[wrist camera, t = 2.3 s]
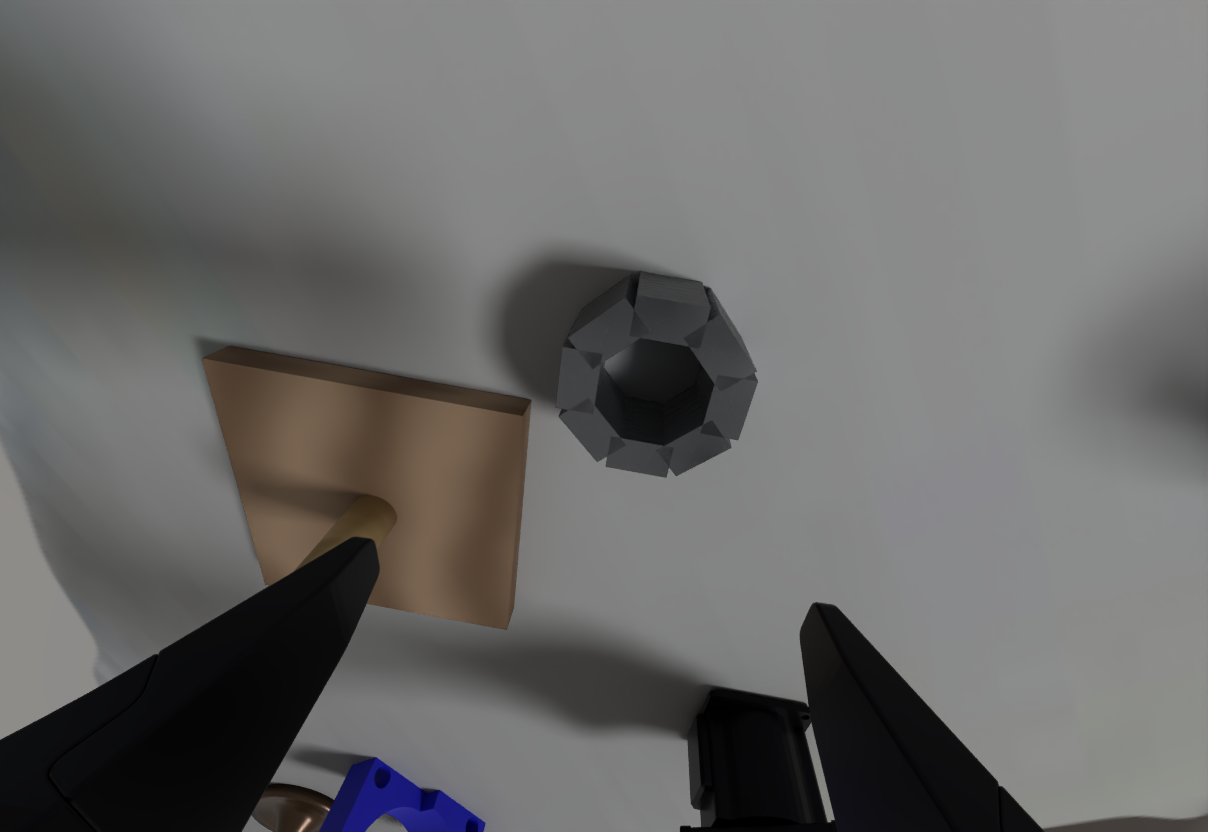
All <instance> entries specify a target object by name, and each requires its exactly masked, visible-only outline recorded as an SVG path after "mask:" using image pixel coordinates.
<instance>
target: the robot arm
mask: <svg viewBox="0 0 1208 832" xmlns="http://www.w3.org/2000/svg"><path fill="white" fill-rule="evenodd" d="M379 572H380V564H379V559H378V553H377V548H376V543H375V541H374V540H373V539H371V538H365V537H358V536H354V537H351V538H349V539H347V540H346V541H344V542H342V543H341V544H339V545H337V546H336V547H334V548H332V549H331V550H329V551H327V552H326V553H324V554H322V555H320V556H319V557H317V558H315V559H314V560H312V561H310V562H309V563H307V564H305V565H304V566H302V567H300V568H299V569H297V570H295V571H294V572H292V573H290V574H289V575H287V576H285V577H284V578H282V579H280V580H279V581H277V582H275V583H273V584H272V585H270V586H268V587H267V588H265V589H263V590H262V591H260V592H258V593H257V594H255V595H253V596H252V597H250V598H248V599H247V600H245V601H243V602H242V603H240V604H238V605H237V606H235V607H233V608H232V609H230V610H228V611H227V612H225V613H223V614H221V615H220V616H218V617H216V618H215V619H213V620H211V621H210V622H208V623H206V624H205V625H203V626H201V627H200V628H198V629H196V630H195V631H193V632H191V633H190V634H188V635H186V636H185V637H183V638H181V639H180V640H178V641H176V642H174V643H173V644H171V645H169V646H168V647H166V648H164V649H163V650H161V651H160V652H159V654H154V655H152V656H151V657H149V658H147V659H146V660H144V661H142V662H141V663H139V664H137V665H136V666H134V667H132V668H131V669H129V670H127V671H125V672H124V673H122V674H120V675H118V676H117V677H115V678H113V679H112V680H110V681H108V682H106V683H105V684H103V685H101V686H99V687H98V688H96V689H94V690H93V691H91V692H89V693H87V694H85V695H84V696H82V697H80V698H78V699H77V700H74V701H73V702H71V703H69V704H67V705H65V706H63V707H61V708H59V709H58V710H56V711H54V712H52V713H50V714H49V715H47V716H45V717H43V718H41V719H39V720H37V721H35V722H33V723H31V724H30V725H28V726H26V727H24V728H22V729H20V730H18V731H16V732H14V733H12V734H10V735H9V736H7V737H5V738H3V739H1V740H0V832H242V830H243V828H244V827H245V825H246V823H247V821H248V820H249V818H250V816H251V814H252V813H253V811H254V809H255V808H256V806H257V804H258V802H259V801H260V799H261V797H262V795H263V794H264V792H265V790H266V788H267V787H268V785H269V783H270V781H271V780H272V778H273V776H274V774H275V773H276V771H277V769H278V767H279V766H280V764H281V762H282V760H283V759H284V757H285V755H286V753H287V752H288V750H289V748H290V746H291V745H292V743H293V741H294V739H295V738H296V736H297V734H298V732H299V731H300V729H301V727H302V725H303V724H304V722H305V720H306V718H307V717H308V715H309V713H310V711H311V710H312V708H313V706H314V704H315V703H316V701H317V699H318V698H319V696H320V694H321V692H322V691H323V689H324V687H325V685H326V684H327V682H328V680H329V678H330V677H331V675H332V673H333V671H334V670H335V668H336V666H337V664H338V663H339V661H340V659H341V657H342V655H343V654H344V652H345V650H346V648H347V646H348V644H349V642H350V640H351V637H352V635H353V633H354V631H355V629H356V626H357V624H358V622H359V620H360V617H361V615H362V613H363V611H364V608H365V606H366V604H367V602H368V599H369V597H370V595H371V593H372V590H373V588H374V586H375V584H376V581H377V579H378V576H379ZM800 645H801V652H802V660H803V667H804V675H805V682H806V689H807V697H808V704H809V707H807V706H802V705H796V704H791V703H786V702H780V701H775V700H770V699H764V698H759V697H754V696H748V695H743V694H738V693H732V692H727V691H722V690H712V691H710V692H709V694H708V696H707V699H706V701H705V703H704V706H703V708H702V710H701V713H699V714H698V715H697V716H696V717H695V719H694V722H693V724H692V726H691V729H690V731H689V733H688V757H689V778H690V798H691V805H692V806H693V808H694V809H698V810H700V815H701V827H693V828H691V827H690V826H680V832H1045V831H1044V830H1043V829H1042V828H1041V827H1040V826H1039V825H1038V824H1037V823H1036V822H1035V821H1034V820H1033V819H1032V818H1031V817H1030V815H1029V814H1028V813H1027V812H1026V811H1025V810H1024V809H1023V808H1022V807H1021V806H1020V805H1019V804H1018V803H1017V801H1016V800H1015V799H1014V798H1013V797H1012V796H1011V795H1010V794H1009V793H1008V792H1007V791H1006V790H1005V788H1004V787H1002V786H999V784H998V781H997V780H996V779H995V778H994V777H993V776H992V775H991V773H990V772H989V771H988V770H987V769H986V768H985V767H984V766H983V765H982V764H981V763H980V762H979V760H978V759H977V758H976V757H975V756H974V755H973V754H972V753H971V752H970V751H969V750H968V748H967V747H966V746H965V745H964V744H963V743H962V742H961V741H960V740H959V739H958V738H957V737H956V735H955V734H954V733H953V732H952V731H951V730H950V729H949V728H948V727H947V726H946V725H945V724H944V722H943V721H942V720H941V719H940V718H939V717H938V716H937V715H936V714H935V713H934V712H933V710H932V709H931V708H930V707H929V706H928V705H927V704H926V703H925V702H924V701H923V700H922V699H921V697H920V696H919V695H918V694H917V693H916V692H915V691H914V690H913V689H912V688H911V687H910V686H909V684H908V683H907V682H906V681H905V680H904V679H903V678H902V677H901V676H900V675H899V674H898V672H897V671H896V670H895V669H894V668H893V667H892V666H891V665H890V664H889V663H888V662H887V661H886V659H885V658H884V657H883V656H882V655H881V654H880V653H879V652H878V651H877V650H876V649H875V647H874V646H873V645H872V644H871V643H870V642H869V641H868V640H867V639H866V638H865V637H864V636H863V634H862V633H861V632H860V631H859V630H858V629H857V628H856V627H855V626H854V625H853V624H852V623H851V621H850V620H849V619H848V618H847V617H846V616H845V615H844V614H843V613H842V612H841V611H840V609H839V608H837V607H836V606H835V605H832V604H825V603H818V602H815V603H813V604H812V605H811V607H810V609H809V611H808V613H807V615H806V618H805V620H804V622H803V624H802V627H801V630H800ZM811 722H812V727H813V731H814V736H815V740H816V744H817V748H818V752H819V756H820V760H821V765H822V769H823V773H824V777H825V781H826V785H827V789H828V793H829V798H830V802H831V806H832V810H833V814H834V818H835V820H831V822H829V823H828V822H827V818H826V814H825V810H824V806H823V802H822V798H821V794H820V790H819V786H818V782H817V778H816V774H815V770H814V766H813V763H812V759H811V755H810V751H809V747H808V743H807V739H806V735H805V732H806V730H807V728H808V727H809V725H810V724H811Z"/></svg>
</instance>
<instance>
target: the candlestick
mask: <svg viewBox="0 0 1208 832" xmlns="http://www.w3.org/2000/svg"><path fill="white" fill-rule="evenodd" d="M333 802H334V800H333V799H331V798H329V797H327V796H325V795H323V794H321V793H318V792H316V791H313V790H310V789H307V788H303V787H299V786H294V785H286V784H272V785H268V787H267V788H266V790H265V792H264V794H263V795H262V797H261V799H260V801H259V802H258V804H257V806H256V808H255V809H254V811H253V813H252V814H251V815H252V816H253V818H254V819H255V820H256V821H258V822H259V823H260V824H261V825H263V826H264V827H266V828H267V829H269V830H271V831H273V832H319V830H320V828H321V826H322V824H323V822H324V820H325V818H326V816H327V814H328V812H329V810H330V808H331V806H332V804H333Z"/></svg>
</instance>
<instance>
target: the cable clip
mask: <svg viewBox="0 0 1208 832" xmlns="http://www.w3.org/2000/svg"><path fill="white" fill-rule="evenodd" d="M383 814H388V815H391V816H393V817H395V818H396V819H398V820H399V821H400V822H401V823H402V824H403V825H404V826H405V828H406V830H407V831H408V832H483V831H484V827H485V822H483V821H482V820H481V819H479V818H478V817H476V816H475V815H474V814H472V813H471V812H470V811H468V810H467V809H465V808H464V807H463V806H461V805H460V804H458V803H457V802H456V801H454V800H453V799H451V798H450V797H449V796H447V795H446V794H445V793H443V792H442V791H440V790H438V791H434V792H430V793H426V792H425V791H423V790H422V789H420V788H419V787H417V786H416V785H415V784H413V783H412V782H410V781H409V780H408V779H406V778H405V777H403V776H402V775H400V774H399V773H398V772H396V771H395V770H393V769H392V768H391V767H389V766H388V765H386V764H385V763H384V762H382V761H381V760H379V759H378V758H373V759H370V760H366V761H363V762H360V763H357V764H354V765H352V766H351V768H350V770H349V772H348V774H347V776H346V778H345V780H344V782H343V784H342V786H341V788H340V790H339V792H338V794H337V796H336V798H335V800H334V802H333V804H332V806H331V808H330V810H329V812H328V814H327V816H326V818H325V820H324V822H323V824H322V826H321V828H320V830H319V832H365V831H366V830H367V828H368V827H369V826H370V825H371V824H372V823H373V822H374V821H375V820H376V819H377V818H379V817H380V816H381V815H383Z"/></svg>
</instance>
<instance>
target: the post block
mask: <svg viewBox="0 0 1208 832" xmlns="http://www.w3.org/2000/svg"><path fill="white" fill-rule="evenodd" d="M202 362H203V365H204V369H205V372H206V376H207V379H208V383H209V386H210V390H211V394H212V397H213V401H214V404H215V408H216V411H217V415H218V418H219V422H220V426H221V429H222V433H223V436H224V440H225V443H226V447H227V450H228V454H229V458H230V461H231V465H232V468H233V472H234V475H235V479H236V482H237V486H238V490H239V493H240V497H241V500H242V504H243V507H244V511H245V514H246V518H247V522H248V525H249V529H250V532H251V536H252V539H253V543H254V546H255V550H256V554H257V557H258V561H259V564H260V568H261V571H262V575H263V578H264V582H265V585H269V586H270V585H272V584H273V583H275V582H277V581H279V580H280V579H282V578H284V577H285V576H287V575H289V574H290V573H292V572H294V571H295V570H297V569H299V568H300V567H302V566H304V565H305V564H307V563H309V562H310V561H312V560H314V559H315V558H317V557H319V556H320V555H322V554H324V553H326V552H327V551H329V550H331V549H332V548H334V547H336V546H337V545H339V544H341V543H342V542H344V541H346V540H347V539H349V538H351V537H354V536H358V537H365V538H371V539H373V540H374V541H375V543H376V548H377V553H378V559H379V564H380V572H379V576H378V579H377V581H376V584H375V586H374V588H373V590H372V593H371V595H370V597H369V599H368V602H367V604H371V605H376V606H381V607H387V608H392V609H397V610H403V611H408V612H414V613H419V614H424V615H430V616H435V617H440V618H446V619H451V620H456V621H462V622H467V623H472V624H478V625H483V626H488V627H494V628H499V629H504V630H507V628H508V625H509V622H510V618H511V615H512V612H513V609H514V600H515V588H516V576H517V564H518V552H519V540H520V529H521V517H522V505H523V493H524V481H525V469H526V457H527V445H528V433H529V421H530V409H531V400H527V399H521V398H516V397H510V396H505V395H499V394H493V393H488V392H482V391H477V390H471V389H466V388H460V387H454V386H449V385H443V384H438V383H432V382H427V381H421V380H415V379H410V378H404V377H399V376H393V375H387V374H382V373H376V372H371V371H365V370H360V369H354V368H348V367H343V366H337V365H332V364H326V363H321V362H315V361H309V360H304V359H298V358H293V357H287V356H281V355H276V354H270V353H265V352H259V351H254V350H248V349H242V348H237V347H231V346H228V347H226V348H224V349H221V350H219V351H217V352H215V353H212V354H210V355H208V356H206V357H203V358H202Z"/></svg>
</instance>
